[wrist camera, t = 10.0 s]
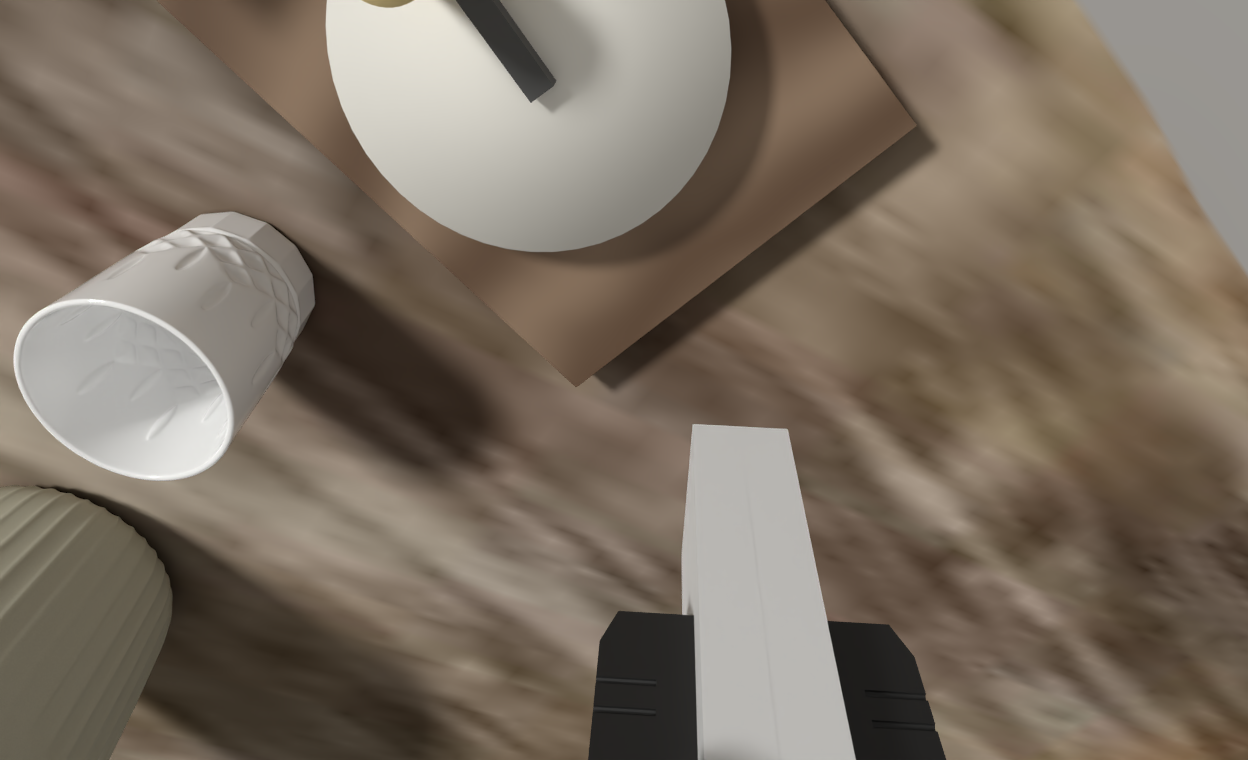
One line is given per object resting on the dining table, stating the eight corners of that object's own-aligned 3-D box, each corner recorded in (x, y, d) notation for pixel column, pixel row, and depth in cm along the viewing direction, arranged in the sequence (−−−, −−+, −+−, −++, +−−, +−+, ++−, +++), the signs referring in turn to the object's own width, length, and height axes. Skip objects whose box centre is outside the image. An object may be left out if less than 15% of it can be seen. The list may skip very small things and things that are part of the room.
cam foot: (799, 104, 31) (829, 169, 25) (508, 292, 36) (471, 385, 30) (574, -284, 26) (539, -328, 19) (265, -1, 31) (155, 38, 24)
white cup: (362, 282, 39) (274, 402, 31) (270, 380, 42) (168, 513, 34) (213, 160, 36) (71, 255, 28) (127, 275, 40) (-23, 391, 31)
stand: (905, 111, 34) (970, 188, 26) (580, 365, 41) (557, 483, 33) (372, -614, 24) (228, -829, 16) (69, -115, 31) (-131, -104, 23)
